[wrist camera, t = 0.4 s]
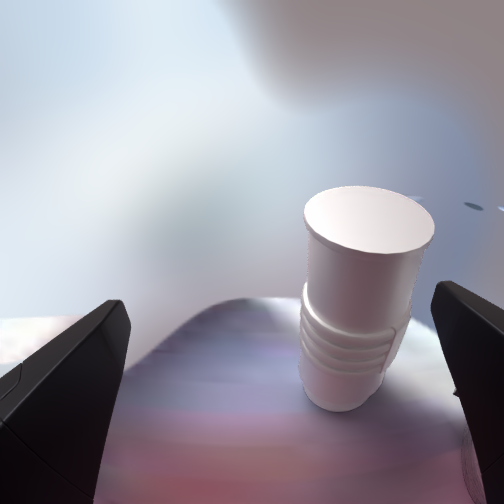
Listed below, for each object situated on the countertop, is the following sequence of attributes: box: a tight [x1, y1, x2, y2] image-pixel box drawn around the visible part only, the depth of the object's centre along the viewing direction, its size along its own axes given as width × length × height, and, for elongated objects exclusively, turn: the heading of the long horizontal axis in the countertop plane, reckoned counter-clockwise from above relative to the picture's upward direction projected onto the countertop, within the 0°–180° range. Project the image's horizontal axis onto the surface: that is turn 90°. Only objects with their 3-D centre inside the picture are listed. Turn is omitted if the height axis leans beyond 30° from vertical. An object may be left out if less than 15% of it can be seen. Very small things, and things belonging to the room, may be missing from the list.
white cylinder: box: [298, 186, 434, 412], centre depth 20 cm, size 7×7×15 cm
